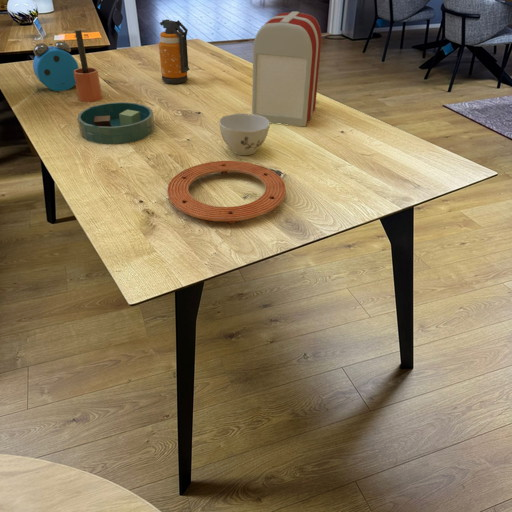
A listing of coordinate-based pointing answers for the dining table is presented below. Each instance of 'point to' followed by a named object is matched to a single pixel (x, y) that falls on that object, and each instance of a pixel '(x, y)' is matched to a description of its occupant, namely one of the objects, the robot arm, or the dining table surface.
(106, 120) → the walnut block
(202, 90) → the dining table surface
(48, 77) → the alarm clock
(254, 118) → the teacup
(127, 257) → the dining table surface
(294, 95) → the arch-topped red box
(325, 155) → the dining table surface
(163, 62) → the canister
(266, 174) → the ring
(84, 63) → the stick
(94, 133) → the bowl
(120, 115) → the sage block
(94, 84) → the holder
